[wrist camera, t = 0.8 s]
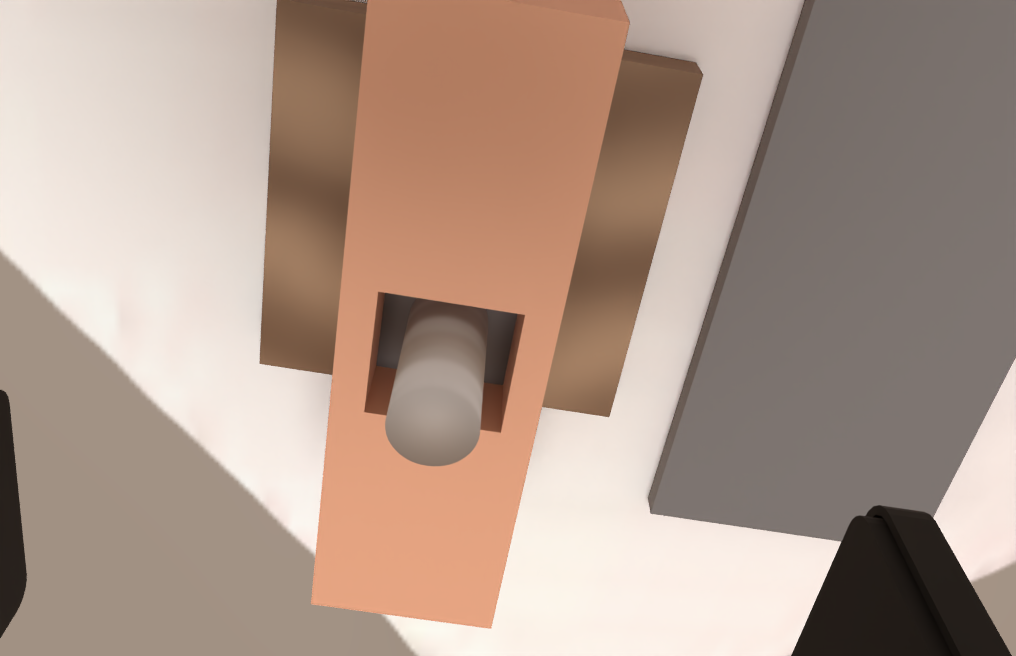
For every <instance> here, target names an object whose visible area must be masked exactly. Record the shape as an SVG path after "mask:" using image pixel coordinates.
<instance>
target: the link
mask: <svg viewBox="0 0 1016 656" xmlns="http://www.w3.org/2000/svg"><path fill="white" fill-rule="evenodd" d="M629 24H630V22H629V20H628V17H627V14H626V12H625V9H624V7H623V4H622V2H621V0H368V1H367V12H366V22H365V33H364V44H363V54H362V65H361V76H360V86H359V97H358V108H357V118H356V129H355V140H354V151H353V161H352V172H351V183H350V193H349V204H348V215H347V225H346V236H345V247H344V257H343V268H342V279H341V289H340V300H339V311H338V321H337V332H336V343H335V354H334V364H333V375H332V386H331V396H330V407H329V418H328V428H327V439H326V450H325V460H324V471H323V482H322V492H321V503H320V514H319V524H318V535H317V546H316V557H315V567H314V578H313V589H312V599H311V604H314V605H321V606H329V607H337V608H343V609H351V610H358V611H365V612H373V613H380V614H387V615H395V616H402V617H409V618H417V619H424V620H431V621H439V622H446V623H453V624H461V625H468V626H475V627H482V628H490V629H491V626H492V622H493V618H494V613H495V609H496V605H497V600H498V596H499V591H500V587H501V583H502V578H503V574H504V570H505V565H506V561H507V557H508V552H509V548H510V543H511V539H512V535H513V530H514V526H515V522H516V517H517V513H518V509H519V504H520V500H521V495H522V491H523V487H524V482H525V478H526V474H527V469H528V465H529V461H530V456H531V452H532V447H533V443H534V439H535V434H536V430H537V426H538V421H539V417H540V413H541V408H542V404H543V400H544V395H545V391H546V386H547V382H548V378H549V373H550V369H551V365H552V360H553V356H554V352H555V347H556V343H557V338H558V334H559V330H560V325H561V321H562V317H563V312H564V308H565V304H566V299H567V295H568V290H569V286H570V282H571V277H572V273H573V269H574V264H575V260H576V256H577V251H578V247H579V242H580V238H581V234H582V229H583V225H584V221H585V216H586V212H587V208H588V203H589V199H590V194H591V190H592V186H593V181H594V177H595V173H596V168H597V164H598V160H599V155H600V151H601V146H602V142H603V138H604V133H605V129H606V125H607V120H608V116H609V112H610V107H611V103H612V98H613V94H614V90H615V85H616V81H617V77H618V72H619V68H620V64H621V59H622V55H623V50H624V46H625V42H626V37H627V33H628V29H629ZM385 293H390V294H397V295H403V296H409V297H416V298H422V299H428V300H434V301H441V302H447V303H453V304H460V305H466V306H472V307H478V308H485V309H491V310H497V311H504V312H510V313H516V314H517V319H516V324H515V329H514V334H513V338H512V343H511V348H510V353H509V358H508V363H507V368H506V373H505V378H504V383H503V385H497V384H491V383H484V387H483V400H482V413H481V426H480V436H479V440H478V442H477V444H476V446H475V448H474V449H473V450H472V452H471V453H470V454H469V455H467V456H466V457H465V458H463V459H462V460H460V461H458V462H456V463H453V464H450V465H445V466H425V465H420V464H417V463H414V462H412V461H409V460H408V459H406V458H404V457H403V456H401V455H400V454H399V453H398V452H397V451H396V450H395V449H394V448H393V447H392V445H391V444H390V442H389V440H388V438H387V435H386V430H385V421H386V416H387V412H388V407H389V403H390V398H391V394H392V389H393V385H394V380H395V376H396V371H397V369H393V368H387V367H380V366H376V363H377V355H378V347H379V338H380V330H381V322H382V313H383V305H384V297H385Z"/></svg>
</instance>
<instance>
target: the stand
mask: <svg viewBox="0 0 1016 656" xmlns="http://www.w3.org/2000/svg"><path fill="white" fill-rule="evenodd" d="M366 12H367V4H366V3H360V2H355V1H349V0H277V8H276V29H275V50H274V71H273V92H272V113H271V134H270V155H269V176H268V197H267V218H266V239H265V260H264V281H263V302H262V323H261V344H260V364H265V365H271V366H278V367H285V368H291V369H298V370H304V371H311V372H317V373H324V374H330V375H333V364H334V354H335V343H336V332H337V321H338V311H339V300H340V289H341V279H342V268H343V257H344V247H345V236H346V225H347V215H348V204H349V193H350V183H351V172H352V161H353V151H354V140H355V129H356V118H357V108H358V97H359V86H360V76H361V65H362V54H363V44H364V33H365V22H366ZM702 77H703V74H702V72H701V70H700V68H699V67H698V65H697V63H695V62H690V61H684V60H679V59H673V58H667V57H662V56H656V55H651V54H645V53H639V52H634V51H628V50H623V55H622V59H621V64H620V68H619V72H618V77H617V81H616V85H615V90H614V94H613V98H612V103H611V107H610V112H609V116H608V120H607V125H606V129H605V133H604V138H603V142H602V146H601V151H600V155H599V160H598V164H597V168H596V173H595V177H594V181H593V186H592V190H591V194H590V199H589V203H588V208H587V212H586V216H585V221H584V225H583V229H582V234H581V238H580V242H579V247H578V251H577V256H576V260H575V264H574V269H573V273H572V277H571V282H570V286H569V290H568V295H567V299H566V304H565V308H564V312H563V317H562V321H561V325H560V330H559V334H558V338H557V343H556V347H555V352H554V356H553V360H552V365H551V369H550V373H549V378H548V382H547V386H546V391H545V395H544V400H543V404H542V407H546V408H553V409H559V410H566V411H572V412H579V413H586V414H592V415H599V416H605V417H609V416H610V412H611V409H612V405H613V401H614V398H615V394H616V390H617V387H618V383H619V379H620V376H621V372H622V368H623V365H624V361H625V358H626V354H627V350H628V347H629V343H630V339H631V336H632V332H633V328H634V325H635V321H636V317H637V314H638V310H639V306H640V303H641V299H642V296H643V292H644V288H645V285H646V281H647V277H648V274H649V270H650V266H651V263H652V259H653V255H654V252H655V248H656V244H657V241H658V237H659V233H660V230H661V226H662V223H663V219H664V215H665V212H666V208H667V204H668V201H669V197H670V193H671V190H672V186H673V182H674V179H675V175H676V171H677V168H678V164H679V161H680V157H681V153H682V150H683V146H684V142H685V139H686V135H687V131H688V128H689V124H690V120H691V117H692V113H693V109H694V106H695V102H696V98H697V95H698V91H699V88H700V84H701V80H702ZM516 319H517V314H516V313H510V312H504V311H497V310H491V309H485V308H478V307H472V306H466V305H460V304H453V303H447V302H441V301H434V300H428V299H422V298H416V297H409V296H403V295H397V294H390V293H385V297H384V305H383V313H382V322H381V330H380V338H379V347H378V355H377V363H376V366H380V367H387V368H393V369H397V371H396V376H395V380H394V385H393V389H392V394H391V398H390V403H389V407H388V412H387V416H386V421H385V430H386V435H387V438H388V440H389V442H390V444H391V445H392V447H393V448H394V449H395V450H396V451H397V452H398V453H399V454H400V455H401V456H403V457H404V458H406V459H408V460H409V461H412V462H414V463H417V464H420V465H425V466H445V465H450V464H453V463H456V462H458V461H460V460H462V459H463V458H465V457H466V456H467V455H469V454H470V453H471V452H472V450H473V449H474V448H475V446H476V444H477V442H478V440H479V436H480V426H481V413H482V400H483V387H484V383H491V384H497V385H503V383H504V378H505V373H506V368H507V363H508V358H509V353H510V348H511V343H512V338H513V334H514V329H515V324H516Z"/></svg>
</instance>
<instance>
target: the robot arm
mask: <svg viewBox="0 0 1016 656" xmlns="http://www.w3.org/2000/svg"><path fill="white" fill-rule="evenodd" d="M26 576H27V573H26V563H25V553H24V543H23V533H22V523H21V514H20V503H19V493H18V483H17V473H16V463H15V454H14V443H13V433H12V424H11V414H10V404H9V399H8V396H7V394H6V392H4V391H2V390H0V638H1V636H2V635H3V633H4V631H5V630H6V628H7V627H8V625H9V623H10V622H11V620H12V618H13V617H14V615H15V614H16V612H17V610H18V608H19V606H20V604H21V602H22V599H23V595H24V591H25V588H26V581H27V579H26ZM791 656H1012V655H1011V654H1010V652H1009V650H1008V648H1007V646H1006V645H1005V643H1004V641H1003V639H1002V638H1001V636H1000V634H999V632H998V631H997V629H996V627H995V625H994V624H993V622H992V620H991V618H990V617H989V615H988V613H987V611H986V610H985V608H984V606H983V604H982V602H981V601H980V599H979V597H978V595H977V594H976V592H975V590H974V588H973V586H972V585H971V583H970V581H969V579H968V578H967V576H966V574H965V572H964V571H963V569H962V567H961V565H960V564H959V562H958V560H957V558H956V556H955V555H954V553H953V551H952V549H951V548H950V546H949V544H948V542H947V541H946V539H945V537H944V535H943V534H942V532H941V530H940V528H939V527H938V525H937V523H936V521H935V520H934V519H933V517H932V516H931V515H930V514H928V513H926V512H922V511H916V510H909V509H902V508H895V507H888V506H882V505H877V506H873V507H872V508H871V509H870V510H869V511H868V512H867V514H866V516H861V515H859V516H856V517H854V518H853V519H852V521H851V522H850V524H849V526H848V528H847V531H846V533H845V535H844V537H843V540H842V542H841V544H840V546H839V549H838V551H837V553H836V556H835V558H834V560H833V562H832V565H831V567H830V569H829V571H828V574H827V576H826V578H825V580H824V583H823V585H822V587H821V590H820V592H819V594H818V596H817V599H816V601H815V603H814V605H813V608H812V610H811V612H810V614H809V617H808V619H807V621H806V624H805V626H804V628H803V630H802V633H801V635H800V637H799V639H798V642H797V644H796V646H795V648H794V651H793V653H792V655H791Z"/></svg>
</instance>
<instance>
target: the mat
mask: <svg viewBox="0 0 1016 656" xmlns="http://www.w3.org/2000/svg"><path fill="white" fill-rule="evenodd" d="M1015 358H1016V0H805V3H804V6H803V9H802V12H801V16H800V19H799V22H798V25H797V28H796V31H795V35H794V38H793V41H792V44H791V47H790V50H789V54H788V57H787V60H786V63H785V66H784V69H783V73H782V76H781V79H780V82H779V85H778V88H777V92H776V95H775V98H774V101H773V104H772V107H771V111H770V114H769V117H768V120H767V123H766V127H765V130H764V133H763V136H762V139H761V142H760V146H759V149H758V152H757V155H756V158H755V161H754V165H753V168H752V171H751V174H750V177H749V180H748V184H747V187H746V190H745V193H744V196H743V199H742V203H741V206H740V209H739V212H738V215H737V218H736V222H735V225H734V228H733V231H732V234H731V237H730V241H729V244H728V247H727V250H726V253H725V256H724V260H723V263H722V266H721V269H720V272H719V275H718V279H717V282H716V285H715V288H714V291H713V294H712V298H711V301H710V304H709V307H708V310H707V313H706V317H705V320H704V323H703V326H702V329H701V332H700V336H699V339H698V342H697V345H696V348H695V351H694V355H693V358H692V361H691V364H690V367H689V370H688V374H687V377H686V380H685V383H684V386H683V390H682V393H681V396H680V399H679V402H678V405H677V409H676V412H675V415H674V418H673V421H672V424H671V428H670V431H669V434H668V437H667V440H666V443H665V447H664V450H663V453H662V456H661V459H660V462H659V466H658V469H657V472H656V475H655V478H654V481H653V485H652V488H651V491H650V494H649V497H648V501H649V507H650V513H651V514H657V515H664V516H671V517H678V518H685V519H692V520H698V521H705V522H712V523H719V524H726V525H733V526H739V527H746V528H753V529H760V530H767V531H774V532H780V533H787V534H794V535H801V536H808V537H815V538H821V539H828V540H835V541H842V540H843V537H844V535H845V533H846V531H847V528H848V526H849V524H850V522H851V521H852V519H853V518H854V517H856V516H859V515H861V516H866V514H867V512H868V511H869V510H870V509H871V508H872V507H873V506H877V505H882V506H888V507H895V508H902V509H909V510H916V511H922V512H926V513H928V514H930V515H931V516H932V517H934V515H935V513H936V511H937V509H938V507H939V505H940V503H941V501H942V499H943V497H944V495H945V493H946V491H947V490H948V488H949V486H950V484H951V482H952V480H953V478H954V476H955V474H956V472H957V470H958V468H959V466H960V464H961V462H962V460H963V458H964V457H965V455H966V453H967V451H968V449H969V447H970V445H971V443H972V441H973V439H974V437H975V435H976V433H977V431H978V429H979V427H980V425H981V424H982V422H983V420H984V418H985V416H986V414H987V412H988V410H989V408H990V406H991V404H992V402H993V400H994V398H995V396H996V394H997V393H998V391H999V389H1000V387H1001V385H1002V383H1003V381H1004V379H1005V377H1006V375H1007V373H1008V371H1009V369H1010V367H1011V365H1012V363H1013V361H1014V360H1015Z"/></svg>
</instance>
